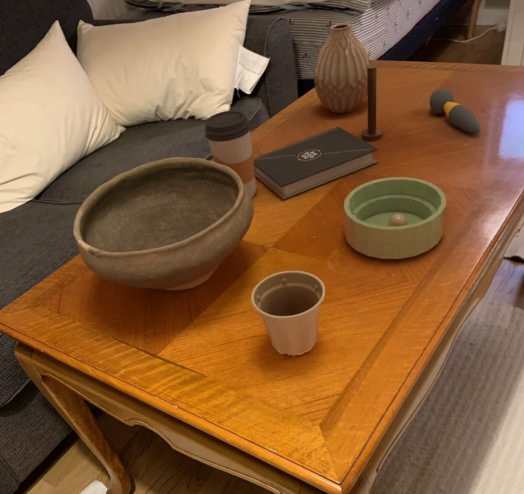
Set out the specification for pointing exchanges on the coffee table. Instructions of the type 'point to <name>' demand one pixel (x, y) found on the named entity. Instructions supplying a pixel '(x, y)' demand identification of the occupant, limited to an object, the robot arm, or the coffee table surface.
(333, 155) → the book
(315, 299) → the flower pot
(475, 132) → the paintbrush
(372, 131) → the stick
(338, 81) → the vase
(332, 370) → the coffee table surface
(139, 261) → the bowl
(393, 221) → the bead
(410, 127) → the coffee table surface
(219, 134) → the coffee cup
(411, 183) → the green round dish
